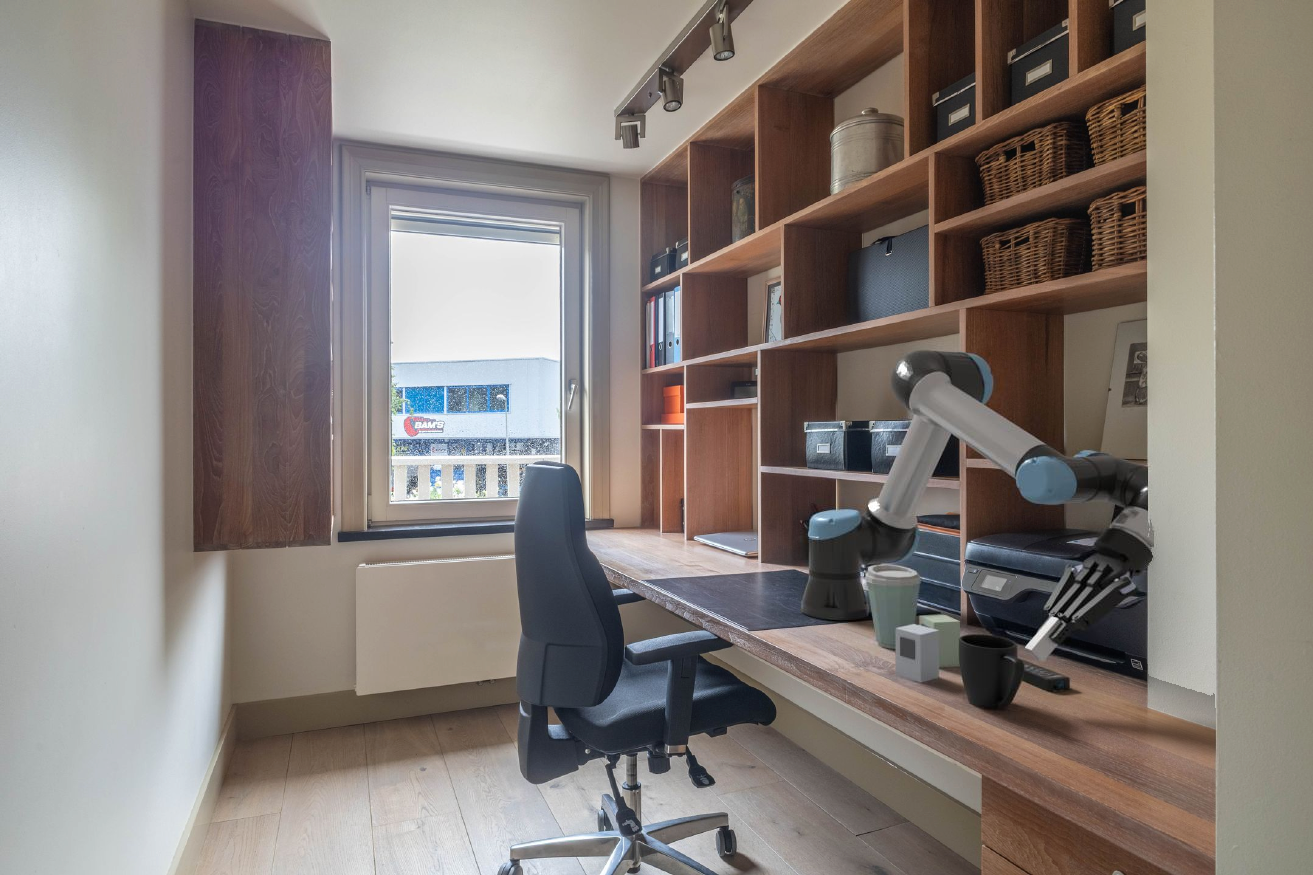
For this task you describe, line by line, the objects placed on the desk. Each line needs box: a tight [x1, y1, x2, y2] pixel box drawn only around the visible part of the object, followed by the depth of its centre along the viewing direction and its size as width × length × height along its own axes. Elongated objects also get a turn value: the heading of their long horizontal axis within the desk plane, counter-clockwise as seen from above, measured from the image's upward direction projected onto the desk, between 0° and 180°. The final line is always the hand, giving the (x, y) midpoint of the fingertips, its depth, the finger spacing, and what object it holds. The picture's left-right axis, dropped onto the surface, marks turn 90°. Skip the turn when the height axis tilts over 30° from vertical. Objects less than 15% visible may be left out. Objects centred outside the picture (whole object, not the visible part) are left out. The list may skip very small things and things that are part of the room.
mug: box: [959, 633, 1024, 711], centre depth 110 cm, size 8×12×10 cm
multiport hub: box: [1020, 658, 1071, 693], centre depth 123 cm, size 4×11×2 cm, turn 16°
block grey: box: [895, 623, 940, 684], centre depth 125 cm, size 5×5×8 cm
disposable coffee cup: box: [864, 563, 922, 650], centre depth 143 cm, size 11×11×15 cm
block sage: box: [918, 614, 961, 668], centre depth 132 cm, size 5×5×8 cm
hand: (1033, 654), depth 111 cm, fingers closed
